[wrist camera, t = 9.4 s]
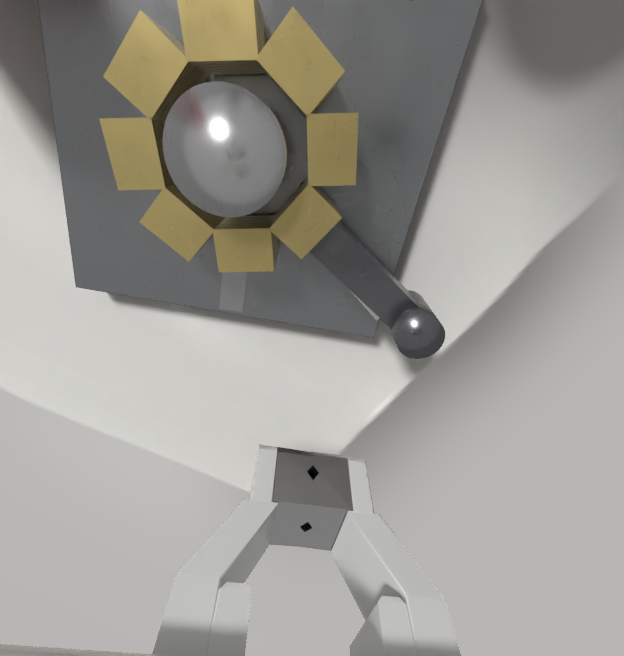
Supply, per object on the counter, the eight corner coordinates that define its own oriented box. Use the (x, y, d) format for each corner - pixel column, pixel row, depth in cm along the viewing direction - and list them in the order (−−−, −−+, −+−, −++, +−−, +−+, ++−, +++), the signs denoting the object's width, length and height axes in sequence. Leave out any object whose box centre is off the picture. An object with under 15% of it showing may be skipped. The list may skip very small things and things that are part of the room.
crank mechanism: (49, -152, 14) (-161, -387, 8) (492, -26, 16) (611, -133, 9) (94, 275, 22) (11, 327, 16) (378, 324, 24) (402, 389, 18)
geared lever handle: (97, 154, 17) (48, 157, 14) (224, -57, 13) (198, -117, 10) (355, 369, 23) (363, 406, 20) (487, 262, 19) (522, 286, 16)
